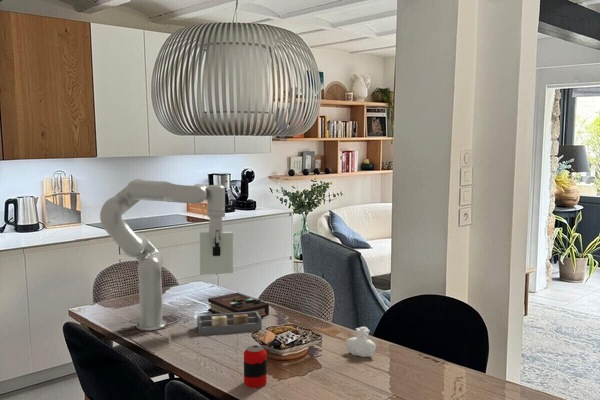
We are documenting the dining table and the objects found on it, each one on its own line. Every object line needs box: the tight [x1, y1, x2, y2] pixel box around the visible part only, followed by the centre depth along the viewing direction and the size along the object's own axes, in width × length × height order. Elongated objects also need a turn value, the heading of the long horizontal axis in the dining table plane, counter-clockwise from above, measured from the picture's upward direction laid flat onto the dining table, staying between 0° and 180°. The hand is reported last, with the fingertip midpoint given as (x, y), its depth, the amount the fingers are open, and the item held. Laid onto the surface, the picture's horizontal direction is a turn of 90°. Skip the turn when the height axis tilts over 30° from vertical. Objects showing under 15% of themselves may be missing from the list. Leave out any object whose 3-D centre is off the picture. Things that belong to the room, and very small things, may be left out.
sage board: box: [199, 231, 234, 275], centre depth 247 cm, size 14×2×18 cm, turn 104°
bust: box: [345, 326, 377, 358], centre depth 215 cm, size 12×8×11 cm
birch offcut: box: [212, 316, 227, 326], centre depth 237 cm, size 6×3×6 cm, turn 105°
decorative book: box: [207, 292, 270, 318], centre depth 263 cm, size 19×8×30 cm
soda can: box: [243, 345, 268, 389], centre depth 188 cm, size 8×8×12 cm
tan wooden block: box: [233, 314, 248, 324], centre depth 239 cm, size 6×3×6 cm, turn 105°
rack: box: [196, 311, 263, 336], centre depth 240 cm, size 26×10×6 cm, turn 105°
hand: (216, 254), depth 247 cm, fingers closed on sage board, 2 cm apart
